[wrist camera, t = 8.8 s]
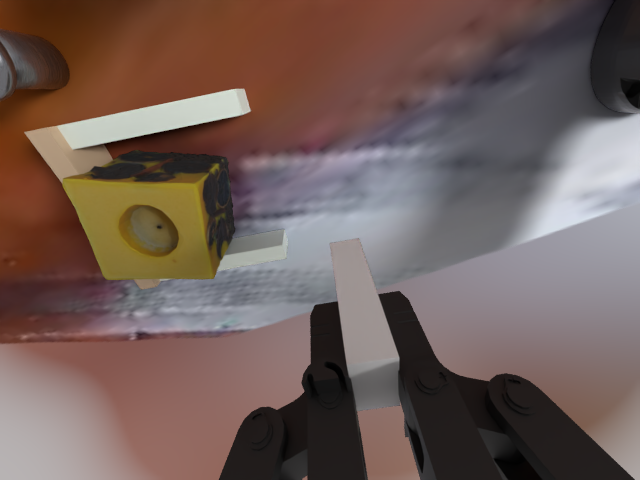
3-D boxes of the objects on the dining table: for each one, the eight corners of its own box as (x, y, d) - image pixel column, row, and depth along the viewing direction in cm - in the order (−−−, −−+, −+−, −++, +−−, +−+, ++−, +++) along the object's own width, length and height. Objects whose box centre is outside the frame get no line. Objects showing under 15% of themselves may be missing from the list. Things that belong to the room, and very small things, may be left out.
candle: (155, 230, 32) (102, 282, 23) (130, 148, 27) (51, 176, 18) (237, 233, 33) (215, 283, 24) (228, 154, 28) (196, 183, 19)
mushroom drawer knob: (49, 16, 21) (-47, -12, 15) (92, 92, 24) (25, 93, 18) (-13, 30, 21) (-131, 8, 15) (37, 104, 24) (-46, 108, 18)
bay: (244, 88, 25) (232, 88, 20) (288, 241, 34) (286, 263, 30) (71, 125, 25) (24, 132, 21) (160, 264, 35) (141, 289, 30)
